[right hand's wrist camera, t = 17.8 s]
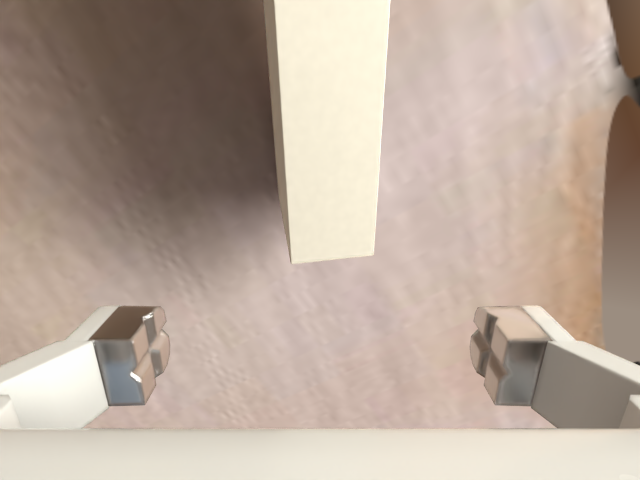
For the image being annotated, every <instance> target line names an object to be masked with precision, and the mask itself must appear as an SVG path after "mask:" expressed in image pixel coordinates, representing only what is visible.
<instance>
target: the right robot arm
mask: <svg viewBox="0 0 640 480" xmlns="http://www.w3.org/2000/svg"><path fill="white" fill-rule="evenodd" d="M165 323H166V317H165V312H164V310H163V309H162V307H161V306H121V305H114V306H100V307H98V308H97V309H96V310H95V311H94V312H93V313H92V314H91V315H90V316H89V317H88V318H87V319H86V320H85V321H84V322H83V323H82V324H81V325H80V326H79V327H78V328H77V329H76V330H75V331H73V332H72V333H71V334H70V335H69V336H68V337H67V338H66V339H65V340H64V341H56V342H54V343H52V344H49V345H47V346H45V347H43V348H40V349H38V350H36V351H33V352H31V353H29V354H26V355H24V356H22V357H19V358H17V359H15V360H12V361H10V362H8V363H6V364H3V365H1V366H0V480H640V366H639V365H637V364H634V363H632V362H630V361H627V360H625V359H623V358H620V357H618V356H616V355H614V354H611V353H609V352H607V351H604V350H602V349H600V348H597V347H595V346H593V345H591V344H588V343H586V342H584V341H576V340H575V339H574V338H573V337H572V336H571V335H570V334H569V333H568V332H567V331H566V330H565V329H563V328H562V327H561V326H560V325H559V324H558V323H557V322H556V321H555V320H554V319H553V318H552V317H551V316H550V315H549V314H548V313H547V312H546V311H545V310H544V309H543V308H542V307H540V306H537V305H530V306H493V307H478V308H477V310H476V312H475V316H474V323H475V324H476V326H477V327H478V330H477V331H476V332H475V333H474V334H473V335H472V336H471V341H470V355H471V360H472V364H473V366H474V368H475V370H476V372H477V373H478V374H480V375H481V376H483V377H484V378H485V381H484V386H485V388H486V390H487V392H488V394H489V395H490V397H491V399H492V401H493V402H494V404H495V405H507V406H531V408H532V409H533V410H535V411H536V412H537V413H538V414H540V415H541V416H542V417H544V418H545V419H546V420H547V421H549V422H550V423H551V424H553V425H554V426H555V427H557V428H84V427H85V426H86V425H87V424H89V423H90V422H91V421H93V420H94V419H95V418H97V417H98V416H99V415H100V414H102V413H103V412H104V411H106V410H107V409H108V408H109V406H132V405H145V404H146V403H147V401H148V399H149V397H150V395H151V394H152V392H153V390H154V388H155V386H156V381H155V378H156V377H157V376H159V375H160V374H162V373H163V372H164V370H165V368H166V366H167V364H168V360H169V355H170V341H169V336H168V335H167V334H166V333H165V332H164V331H163V330H162V327H163V326H164V324H165Z"/></svg>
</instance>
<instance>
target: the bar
mask: <svg viewBox="0 0 640 480" xmlns="http://www.w3.org/2000/svg"><path fill="white" fill-rule="evenodd" d="M263 3H264V16H265V29H266V41H267V54H268V67H269V80H270V93H271V105H272V118H273V131H274V144H275V157H276V170H277V182H278V195H279V201H280V207H281V212H282V218H283V223H284V229H285V234H286V239H287V245H288V250H289V256H290V261H291V264H299V263H308V262H317V261H326V260H336V259H345V258H354V257H363V256H372V255H374V240H375V224H376V209H377V194H378V179H379V163H380V148H381V133H382V118H383V102H384V87H385V72H386V56H387V41H388V26H389V11H390V0H263Z"/></svg>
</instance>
